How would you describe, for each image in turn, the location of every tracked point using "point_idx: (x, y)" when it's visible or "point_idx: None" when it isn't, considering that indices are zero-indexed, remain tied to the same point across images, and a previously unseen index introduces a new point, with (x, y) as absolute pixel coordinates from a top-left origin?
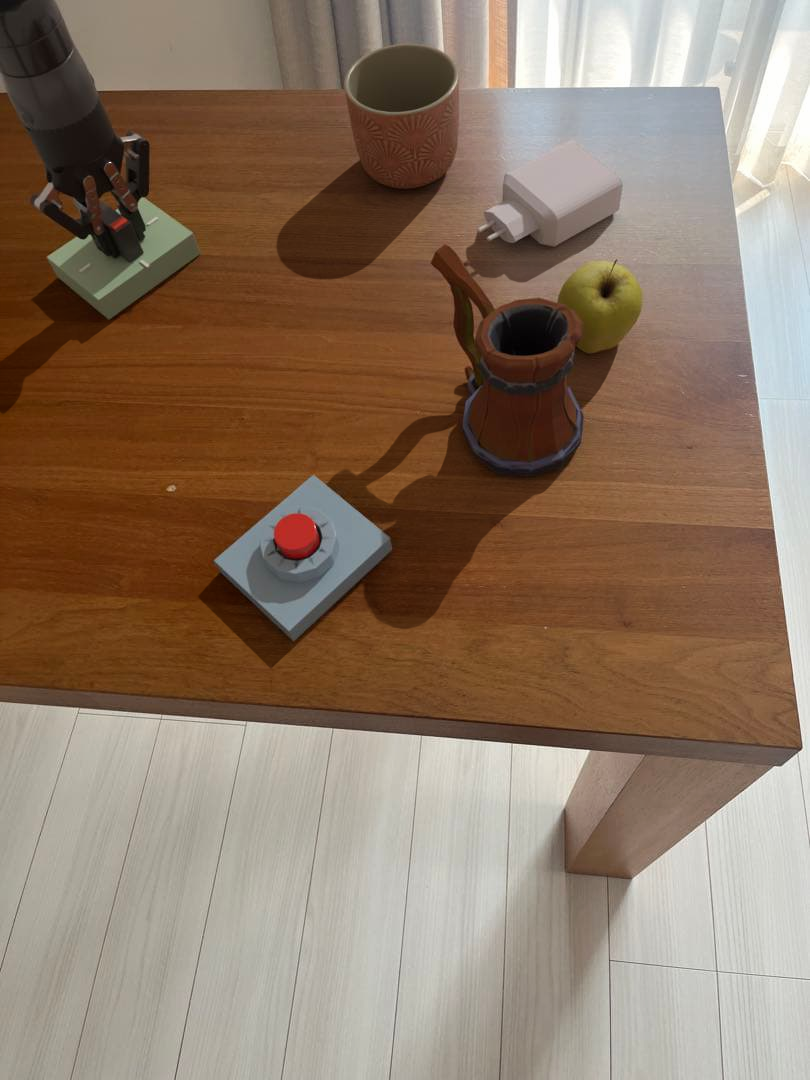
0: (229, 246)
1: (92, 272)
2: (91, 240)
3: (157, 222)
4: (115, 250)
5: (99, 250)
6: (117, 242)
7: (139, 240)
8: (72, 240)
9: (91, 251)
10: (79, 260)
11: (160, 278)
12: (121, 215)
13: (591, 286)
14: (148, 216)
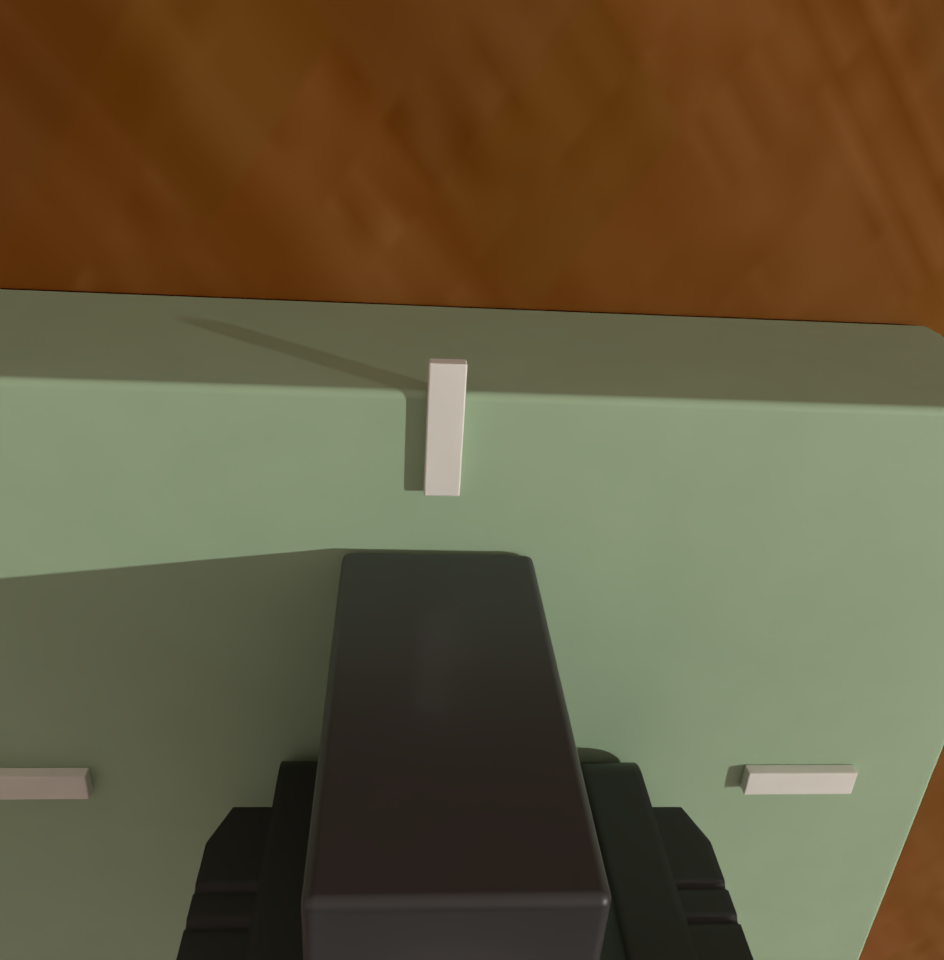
0: (894, 906)
1: (58, 842)
2: (280, 557)
3: (809, 798)
4: None
5: (256, 706)
6: None
7: None
8: (120, 406)
9: (190, 668)
10: (34, 670)
11: None
12: (620, 935)
13: None
14: (835, 703)
